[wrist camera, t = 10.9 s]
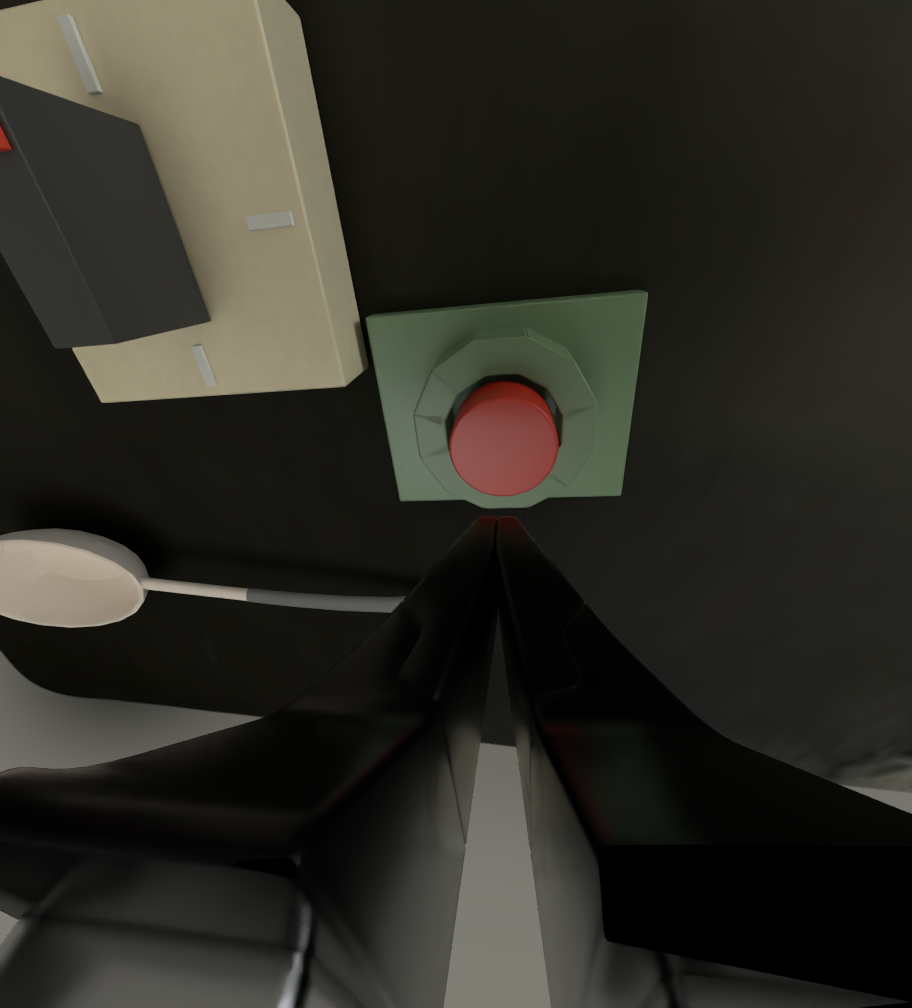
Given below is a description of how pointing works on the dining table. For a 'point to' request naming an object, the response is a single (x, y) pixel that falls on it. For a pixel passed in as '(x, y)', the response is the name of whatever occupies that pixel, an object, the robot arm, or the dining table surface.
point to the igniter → (511, 357)
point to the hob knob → (88, 224)
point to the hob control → (213, 184)
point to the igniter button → (504, 439)
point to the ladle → (113, 582)
